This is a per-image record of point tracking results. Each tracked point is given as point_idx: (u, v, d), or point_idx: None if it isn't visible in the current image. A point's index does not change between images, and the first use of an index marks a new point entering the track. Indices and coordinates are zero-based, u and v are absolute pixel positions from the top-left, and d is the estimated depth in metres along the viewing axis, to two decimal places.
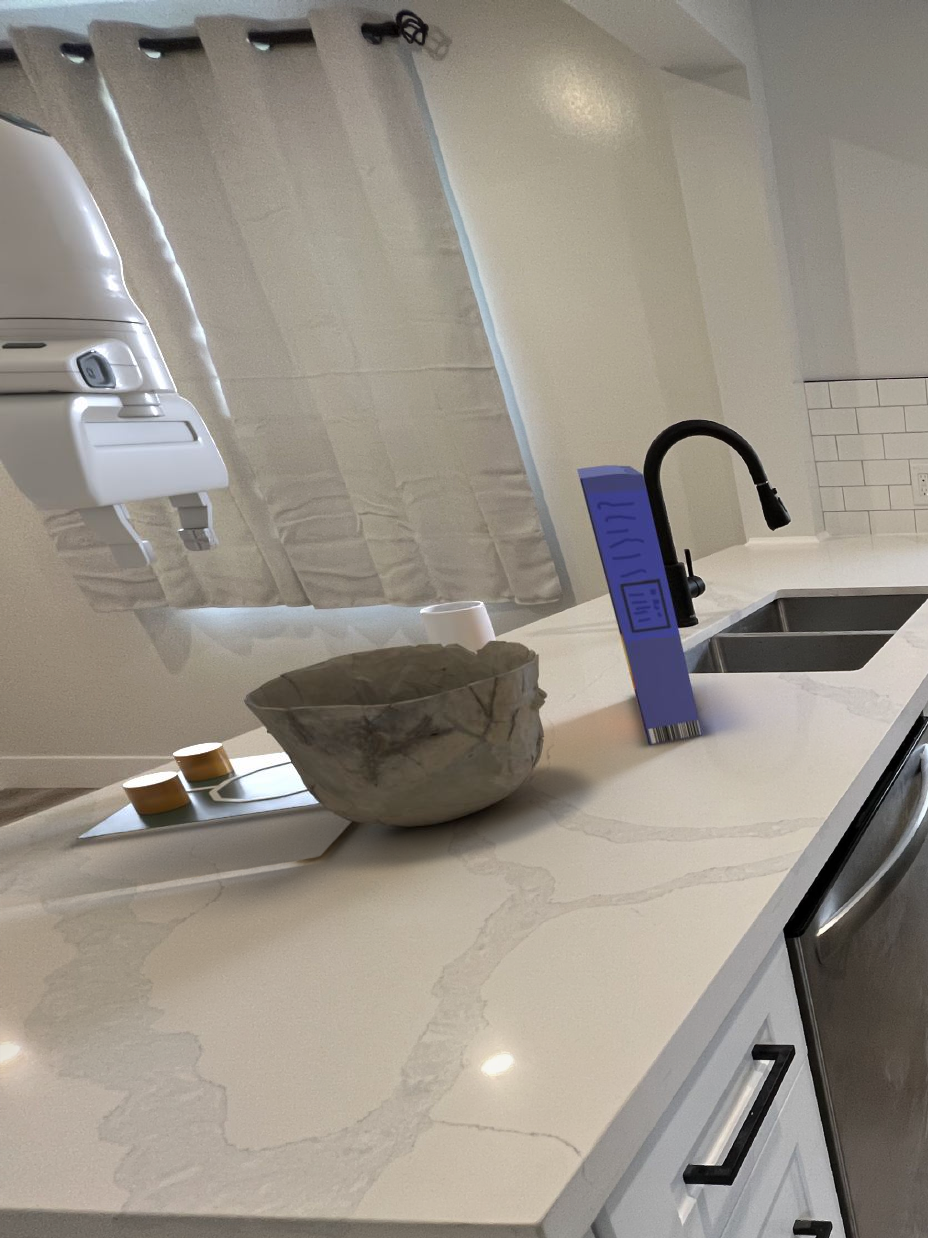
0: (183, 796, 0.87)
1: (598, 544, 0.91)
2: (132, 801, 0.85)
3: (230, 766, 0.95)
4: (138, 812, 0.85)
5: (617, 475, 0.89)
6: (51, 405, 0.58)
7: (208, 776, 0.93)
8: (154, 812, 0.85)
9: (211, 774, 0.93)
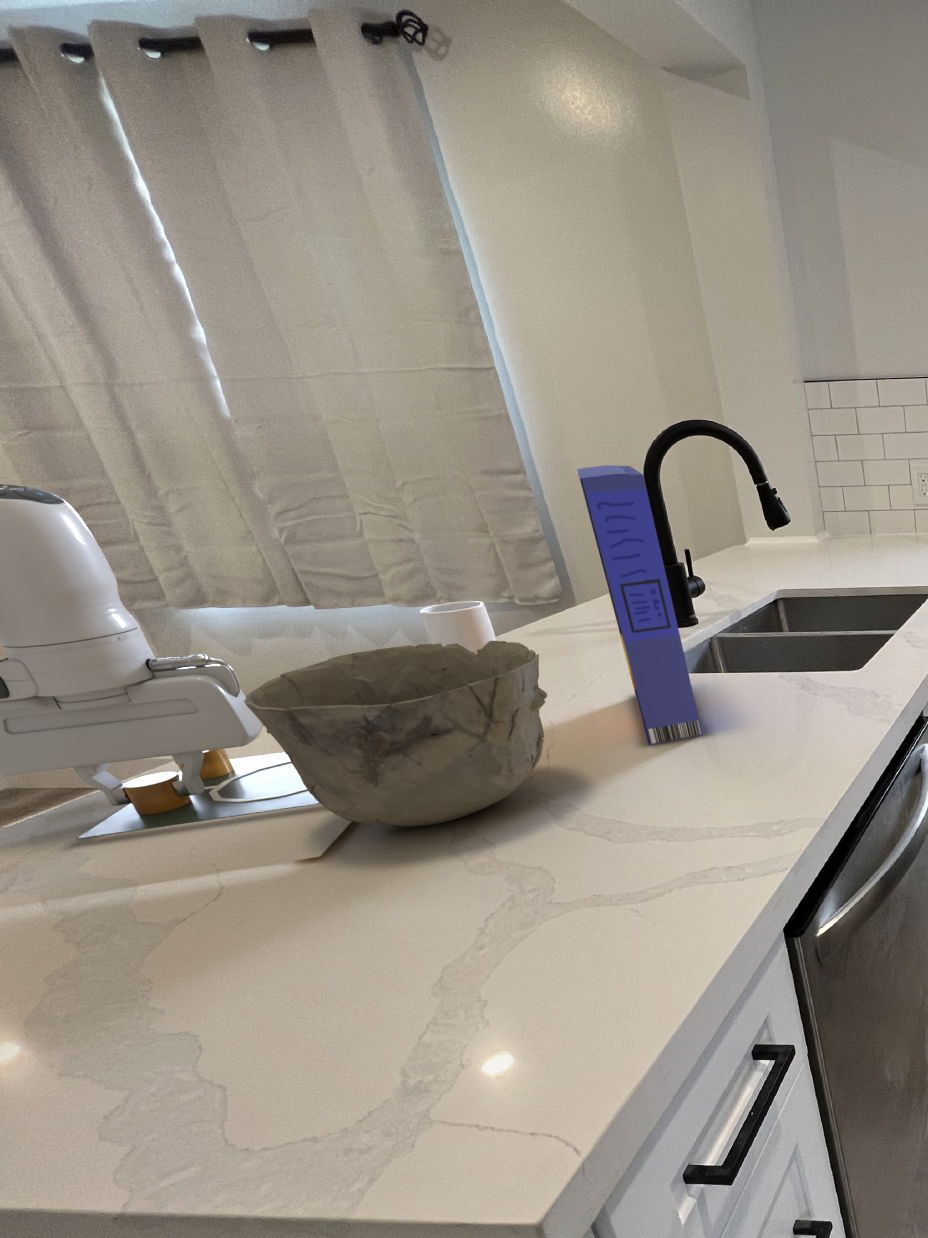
0: (183, 796, 0.87)
1: (598, 544, 0.91)
2: (133, 801, 0.85)
3: (230, 766, 0.95)
4: (138, 812, 0.85)
5: (617, 475, 0.89)
6: None
7: (208, 776, 0.93)
8: (154, 812, 0.85)
9: (211, 774, 0.93)
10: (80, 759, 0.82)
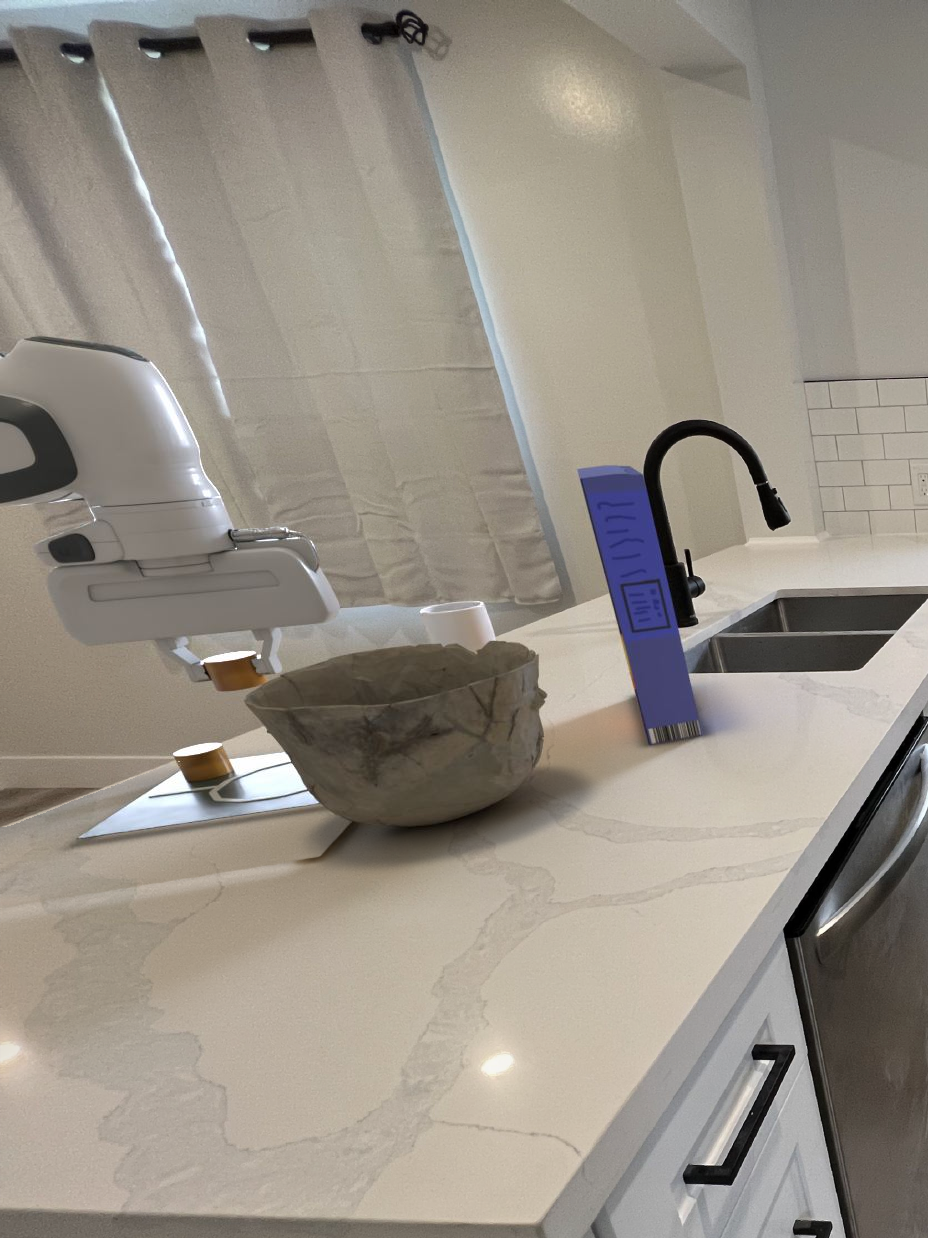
0: (262, 675, 0.86)
1: (598, 544, 0.91)
2: (213, 677, 0.84)
3: (230, 766, 0.95)
4: (218, 689, 0.84)
5: (617, 475, 0.89)
6: None
7: (208, 776, 0.93)
8: (234, 689, 0.84)
9: (211, 774, 0.93)
10: (162, 630, 0.81)
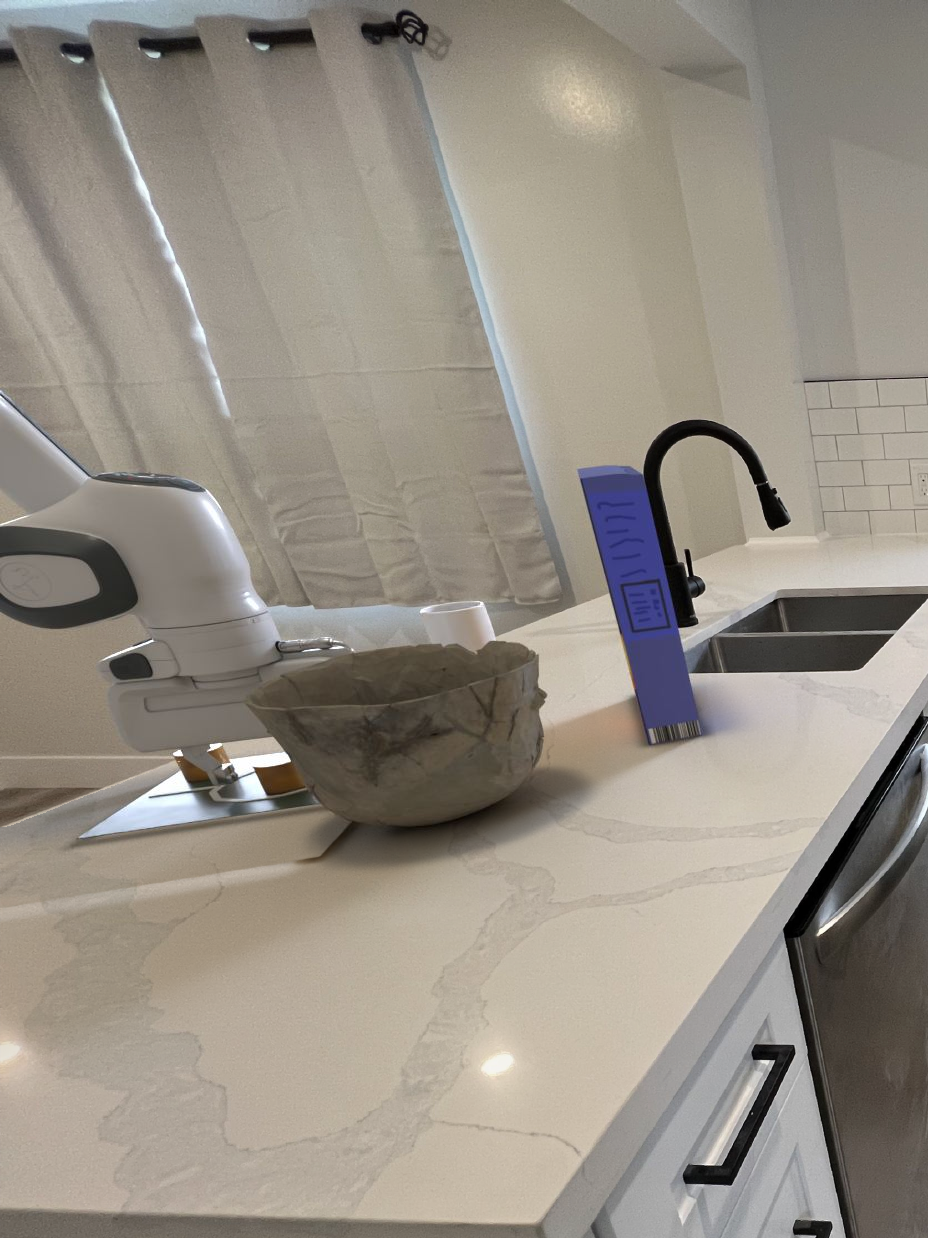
0: None
1: (598, 544, 0.91)
2: (262, 780, 0.88)
3: None
4: (266, 791, 0.89)
5: (617, 475, 0.89)
6: None
7: (208, 776, 0.93)
8: (281, 791, 0.89)
9: None
10: (212, 737, 0.85)
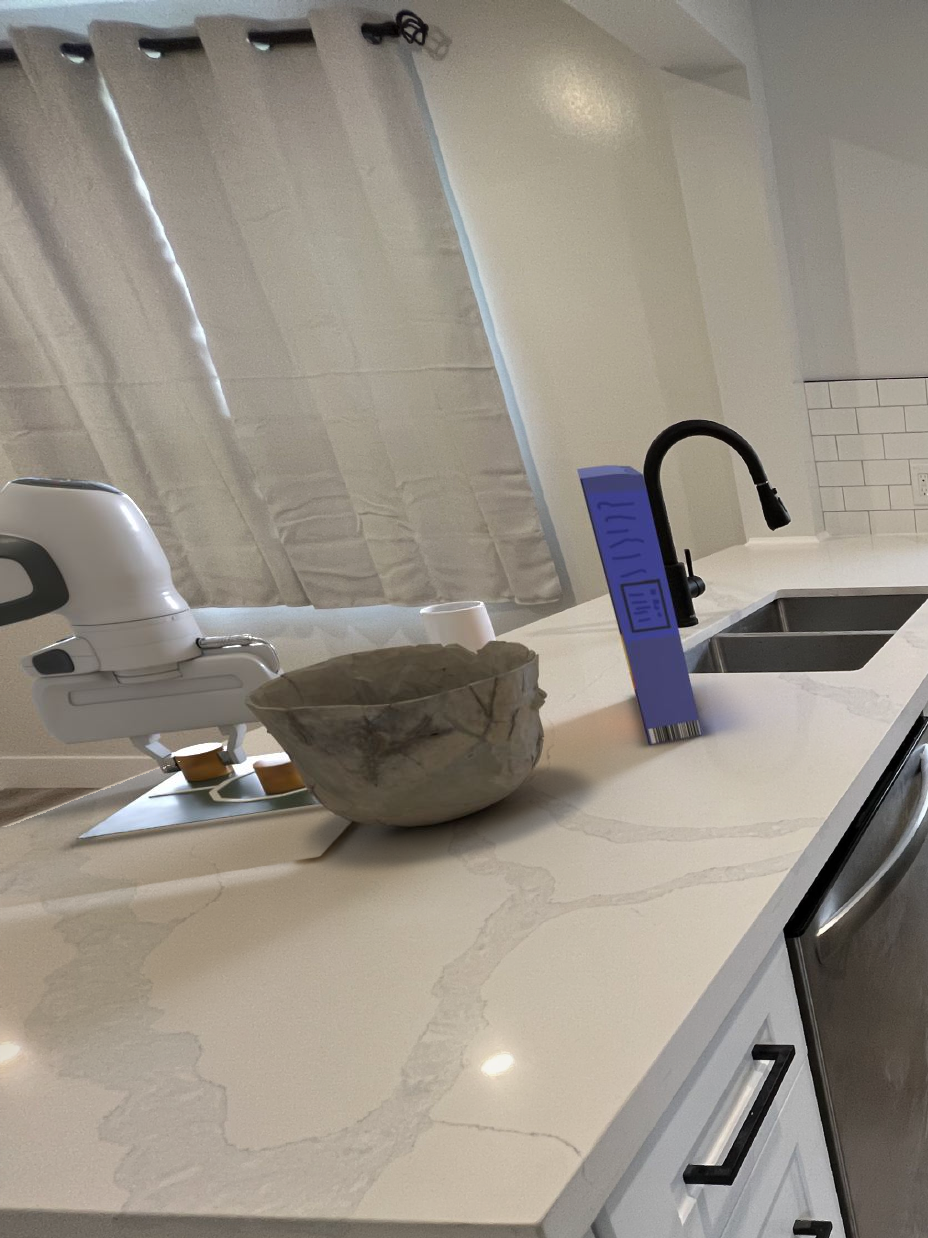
0: None
1: (598, 544, 0.91)
2: (262, 780, 0.88)
3: (230, 766, 0.95)
4: (266, 791, 0.89)
5: (617, 475, 0.89)
6: None
7: (208, 776, 0.93)
8: (281, 791, 0.89)
9: (211, 774, 0.93)
10: (136, 729, 0.89)
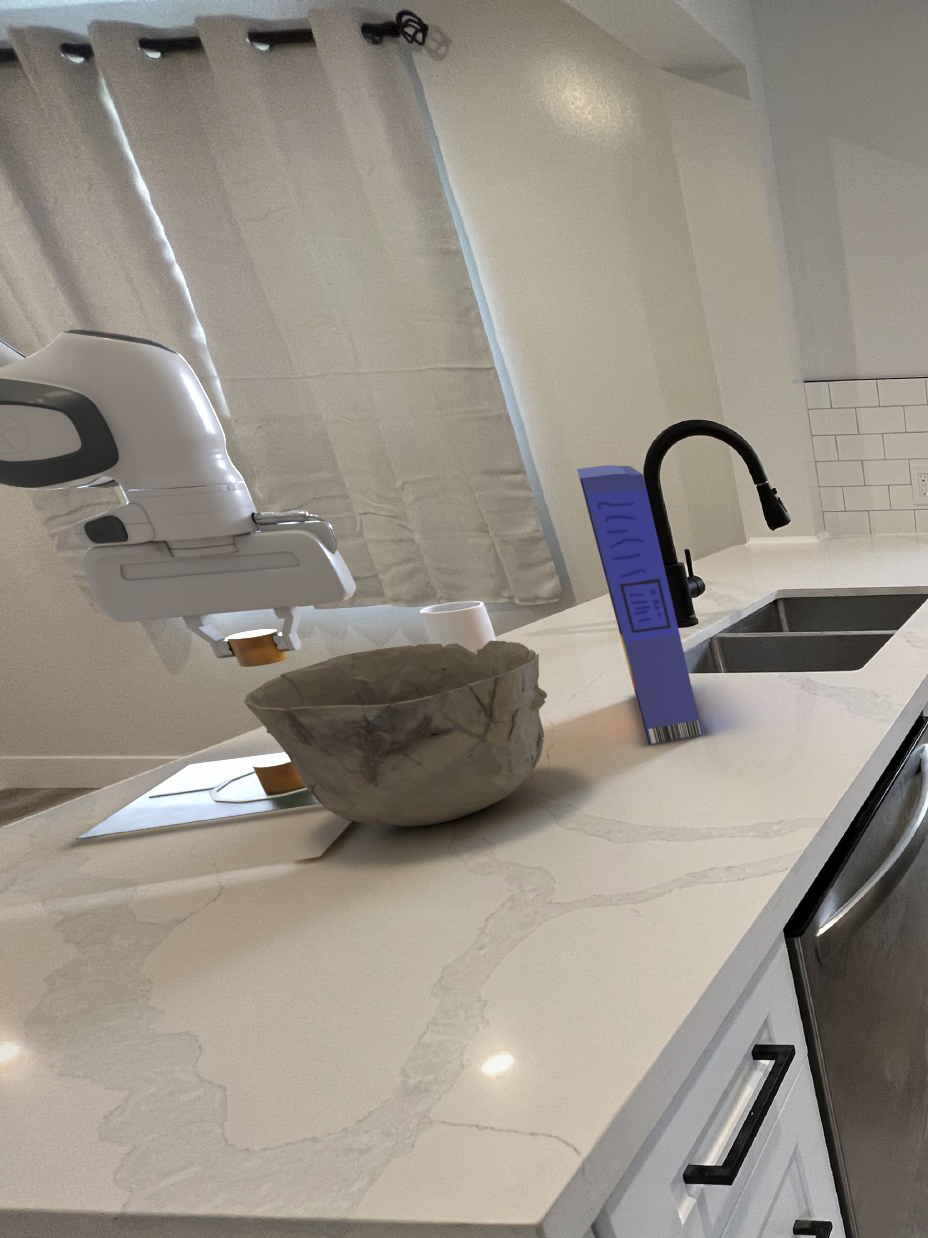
0: None
1: (598, 544, 0.91)
2: (262, 780, 0.88)
3: (285, 653, 0.91)
4: (266, 791, 0.89)
5: (617, 475, 0.89)
6: None
7: (263, 661, 0.89)
8: (281, 791, 0.89)
9: (266, 659, 0.89)
10: (189, 608, 0.86)
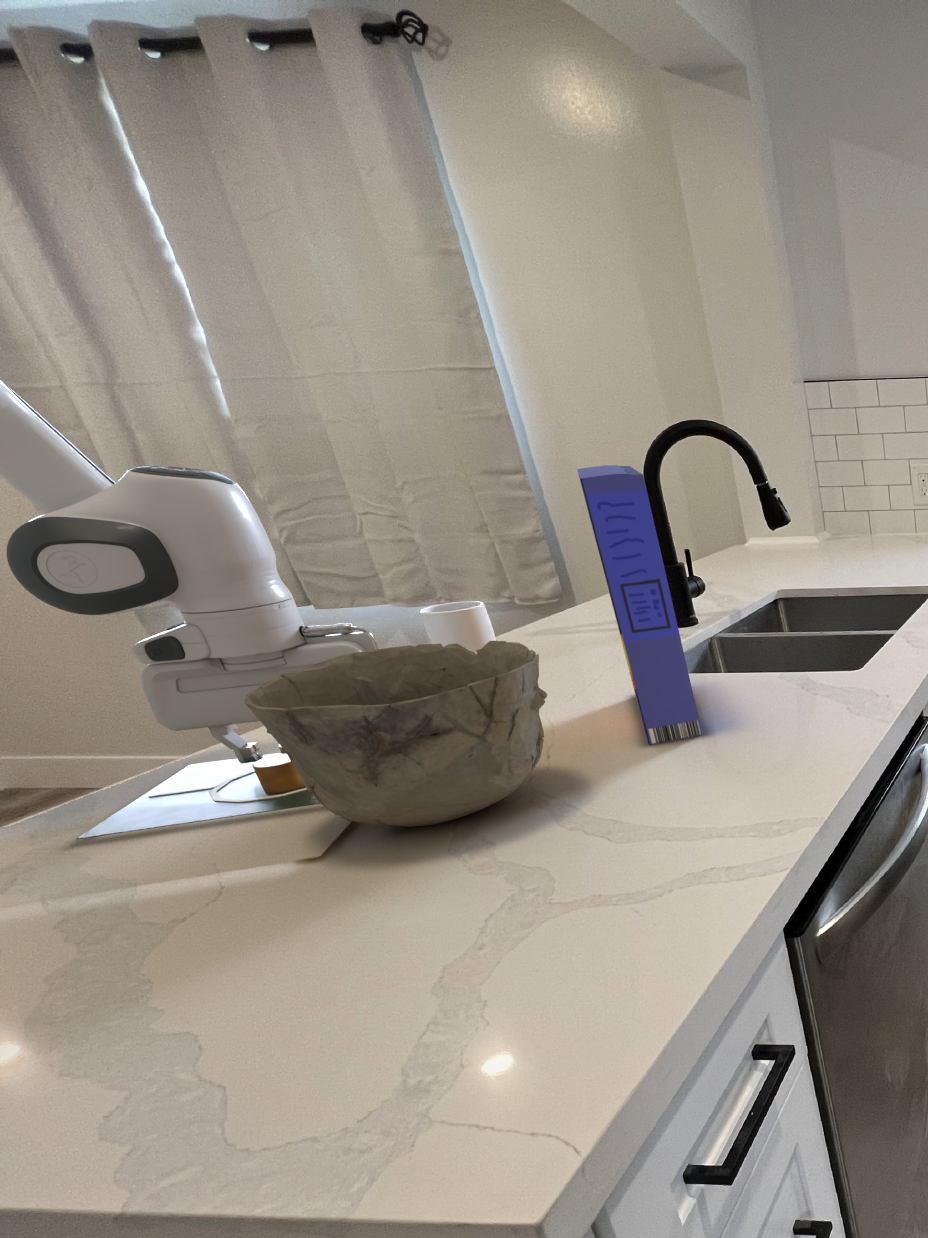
0: None
1: (598, 544, 0.91)
2: (262, 780, 0.88)
3: None
4: (266, 791, 0.89)
5: (617, 475, 0.89)
6: None
7: None
8: (281, 791, 0.89)
9: None
10: (239, 716, 0.90)
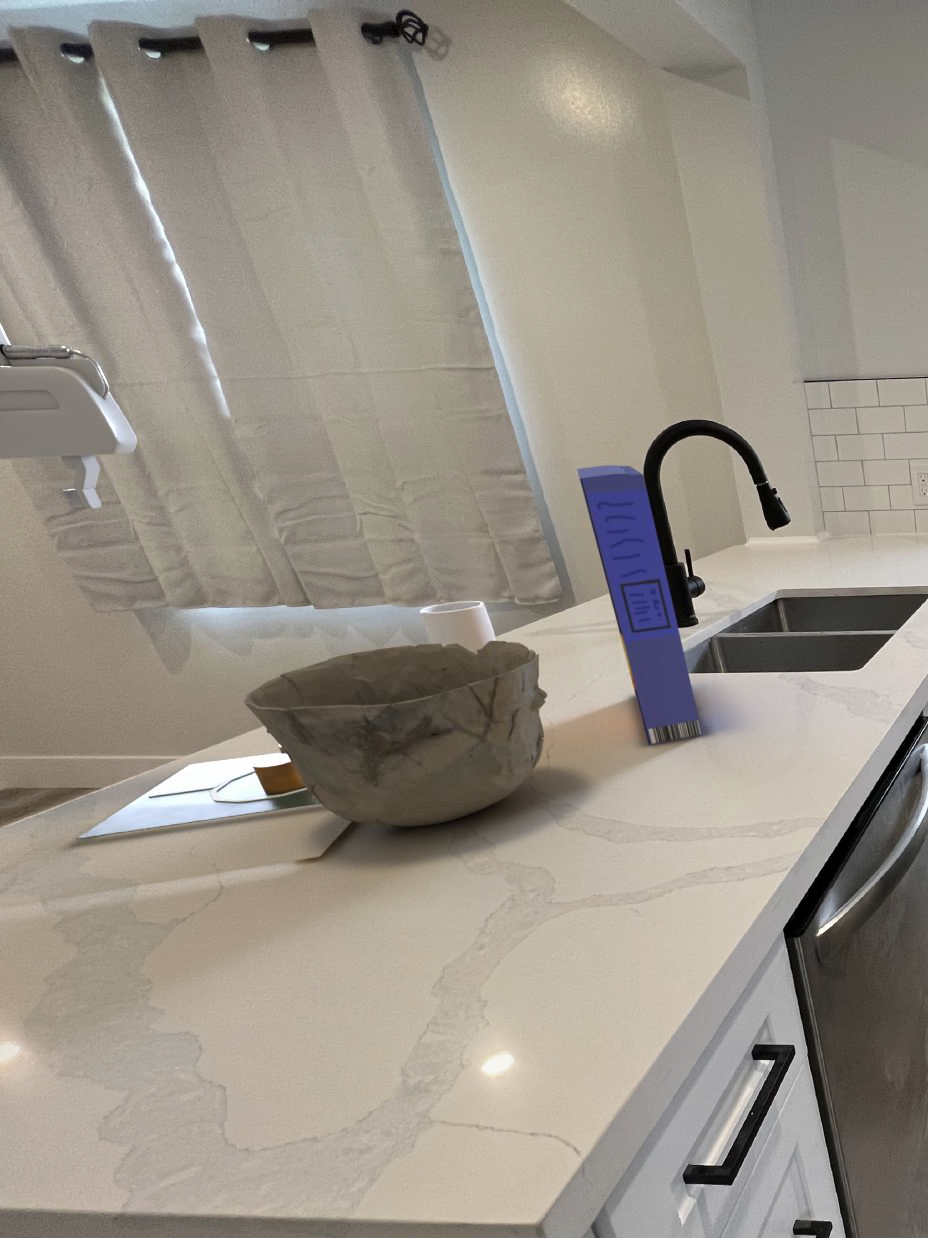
0: None
1: (598, 544, 0.91)
2: (262, 780, 0.88)
3: None
4: (266, 791, 0.89)
5: (617, 475, 0.89)
6: None
7: None
8: (281, 791, 0.89)
9: None
10: None
